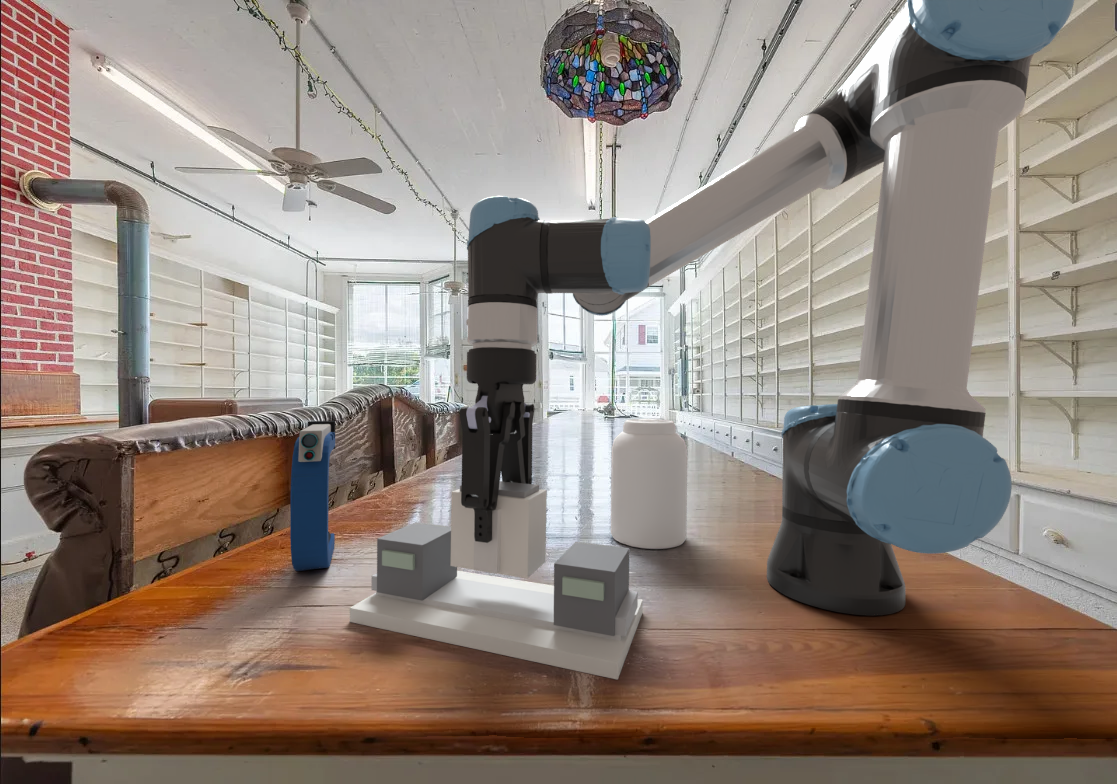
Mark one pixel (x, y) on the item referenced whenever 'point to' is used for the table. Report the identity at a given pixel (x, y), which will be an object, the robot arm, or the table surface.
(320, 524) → the handheld scanner
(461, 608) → the board
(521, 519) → the block
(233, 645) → the table surface
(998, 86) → the robot arm
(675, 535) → the white jar
